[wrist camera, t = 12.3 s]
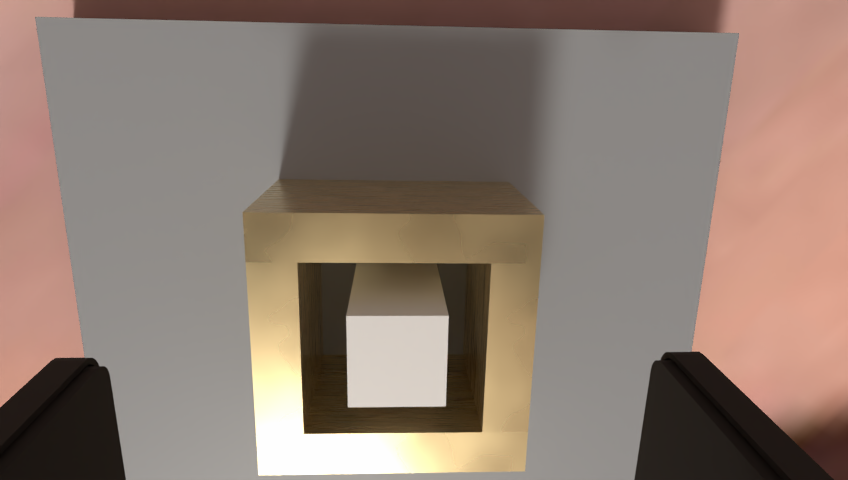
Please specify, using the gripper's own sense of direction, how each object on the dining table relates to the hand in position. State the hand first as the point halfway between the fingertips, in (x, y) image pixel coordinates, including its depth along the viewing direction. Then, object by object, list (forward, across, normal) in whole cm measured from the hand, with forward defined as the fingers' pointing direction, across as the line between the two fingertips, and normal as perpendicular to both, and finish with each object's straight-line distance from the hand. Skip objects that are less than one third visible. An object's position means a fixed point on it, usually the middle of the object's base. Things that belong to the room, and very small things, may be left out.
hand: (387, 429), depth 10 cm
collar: (+9, 0, +1) cm, 9 cm away
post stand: (+11, 0, +1) cm, 11 cm away
